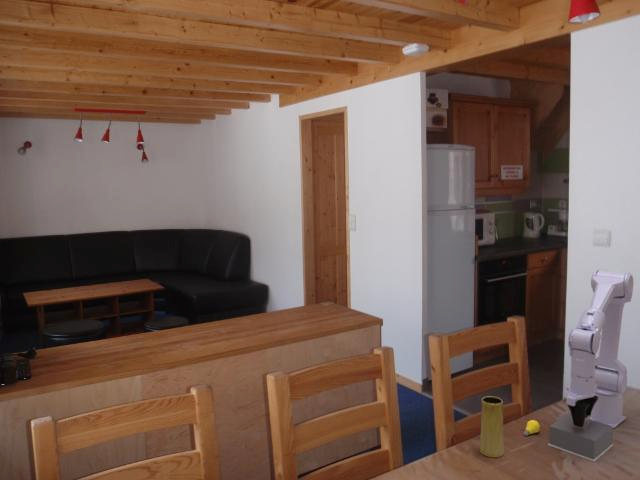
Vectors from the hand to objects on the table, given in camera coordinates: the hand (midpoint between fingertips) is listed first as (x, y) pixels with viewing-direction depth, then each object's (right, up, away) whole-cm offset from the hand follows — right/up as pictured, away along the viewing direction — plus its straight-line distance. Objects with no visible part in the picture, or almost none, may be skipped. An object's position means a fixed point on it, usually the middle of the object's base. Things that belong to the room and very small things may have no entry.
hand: (581, 423), depth 145 cm
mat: (0, -6, +1) cm, 6 cm away
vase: (-24, -7, -2) cm, 25 cm away
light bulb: (-10, -6, +8) cm, 14 cm away
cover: (0, -6, +1) cm, 6 cm away
